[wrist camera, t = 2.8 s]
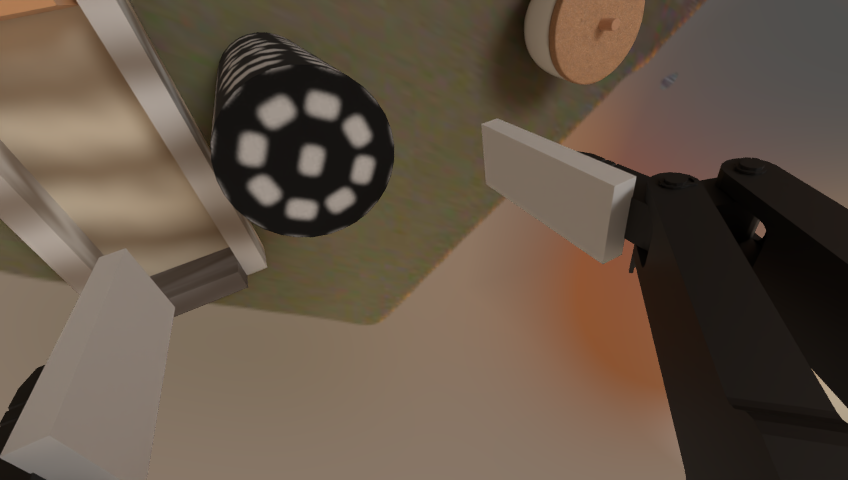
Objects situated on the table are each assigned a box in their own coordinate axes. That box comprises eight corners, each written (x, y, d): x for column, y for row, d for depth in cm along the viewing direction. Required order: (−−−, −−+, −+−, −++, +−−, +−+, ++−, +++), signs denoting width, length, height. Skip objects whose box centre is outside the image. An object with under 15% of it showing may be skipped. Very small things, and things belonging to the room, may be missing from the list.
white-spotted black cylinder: (222, 16, 29) (219, 33, 14) (327, 51, 33) (414, 95, 18) (213, 121, 32) (203, 230, 17) (309, 141, 37) (371, 242, 21)
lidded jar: (529, -60, 36) (606, -75, 29) (600, -19, 41) (680, -23, 34) (491, 59, 40) (549, 72, 33) (560, 82, 46) (623, 98, 38)
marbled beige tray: (-174, -12, 21) (-284, -16, 17) (97, -57, 25) (68, -70, 20) (122, 300, 37) (108, 343, 32) (264, 247, 40) (269, 278, 36)
